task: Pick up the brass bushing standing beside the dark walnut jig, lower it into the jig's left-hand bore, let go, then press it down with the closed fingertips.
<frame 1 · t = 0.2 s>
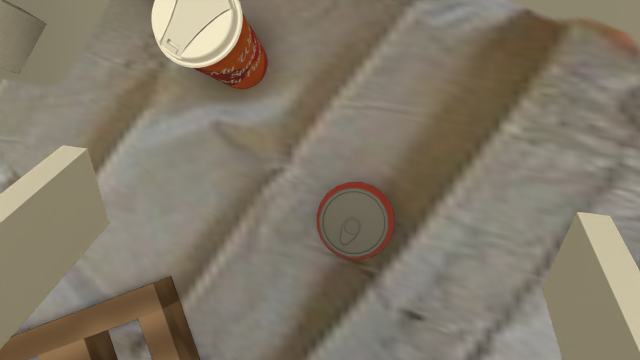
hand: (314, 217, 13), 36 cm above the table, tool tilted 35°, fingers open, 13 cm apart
tea bag: (22, 42, 54), on the table
beer can: (360, 214, 48), on the table
paper cup: (243, 63, 50), on the table
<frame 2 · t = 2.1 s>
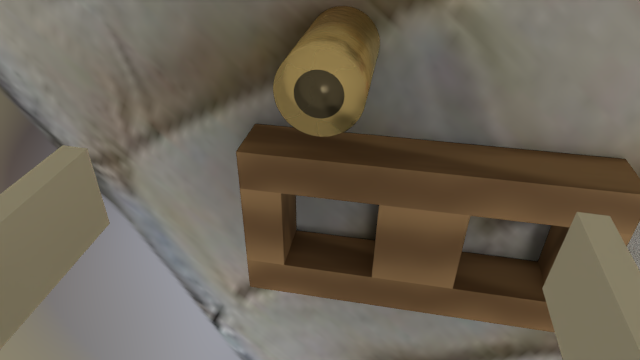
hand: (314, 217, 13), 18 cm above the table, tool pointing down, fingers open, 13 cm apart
jig: (417, 212, 34), on the table
brass bushing: (343, 43, 28), on the table
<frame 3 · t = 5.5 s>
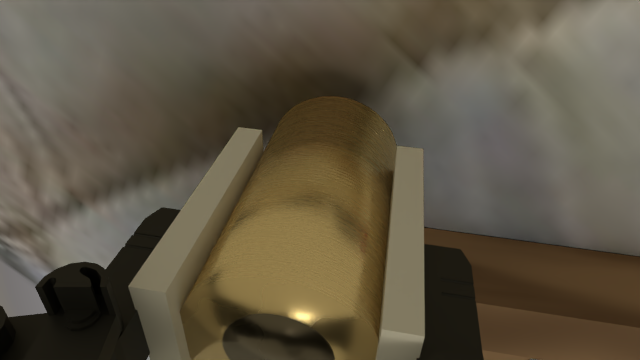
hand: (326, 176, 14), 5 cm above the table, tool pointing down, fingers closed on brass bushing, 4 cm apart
jig: (442, 317, 24), on the table
brass bushing: (333, 154, 16), point 3 cm above the table, touching gripper
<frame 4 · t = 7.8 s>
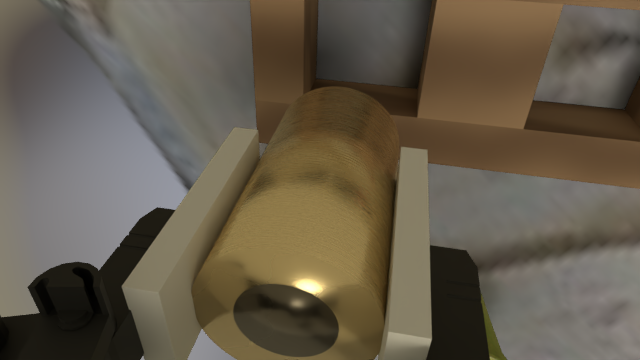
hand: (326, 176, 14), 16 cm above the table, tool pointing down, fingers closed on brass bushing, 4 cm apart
jig: (475, 41, 26), on the table
plant pot: (443, 293, 38), on the table
brass bushing: (338, 143, 17), point 13 cm above the table, touching gripper
when the fingers open (5 cm above the table, at t = 10.2 s): brass bushing drops 2 cm, resting in jig.
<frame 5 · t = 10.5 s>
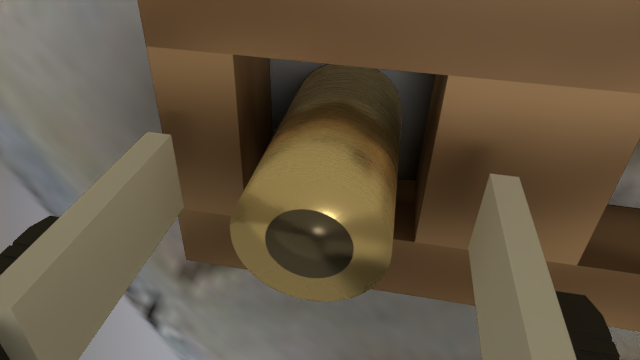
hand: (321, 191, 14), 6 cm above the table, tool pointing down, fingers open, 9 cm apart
jig: (501, 122, 18), on the table
brass bushing: (347, 113, 19), resting in jig
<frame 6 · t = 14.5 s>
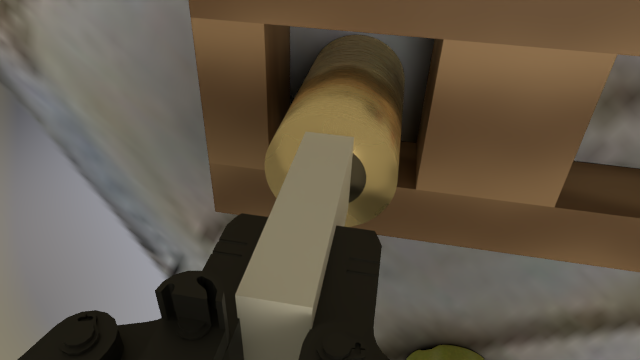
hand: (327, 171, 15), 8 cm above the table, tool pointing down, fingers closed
jig: (490, 88, 20), on the table
brass bushing: (357, 81, 21), resting in jig, touching gripper
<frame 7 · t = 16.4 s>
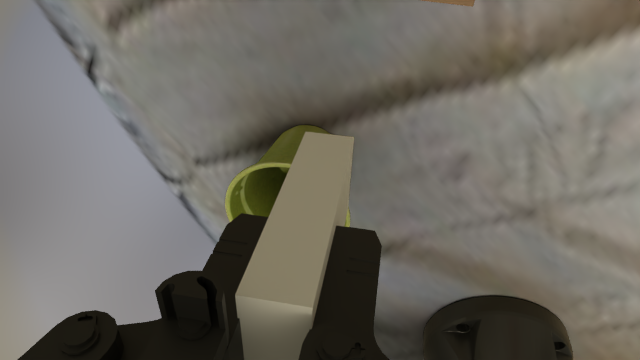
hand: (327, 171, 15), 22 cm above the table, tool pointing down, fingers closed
plant pot: (309, 152, 41), on the table
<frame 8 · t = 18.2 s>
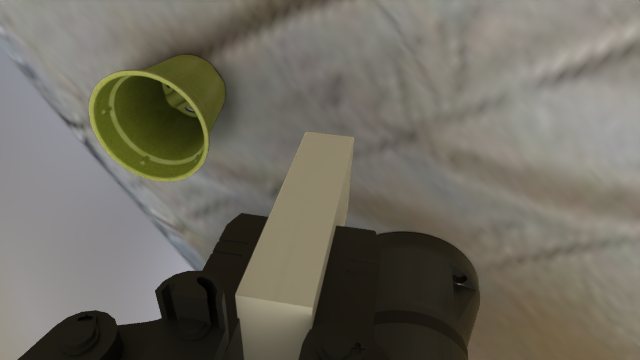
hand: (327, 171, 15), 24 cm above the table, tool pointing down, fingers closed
plant pot: (195, 84, 42), on the table
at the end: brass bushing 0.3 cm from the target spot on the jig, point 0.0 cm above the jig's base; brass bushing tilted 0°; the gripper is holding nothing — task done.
